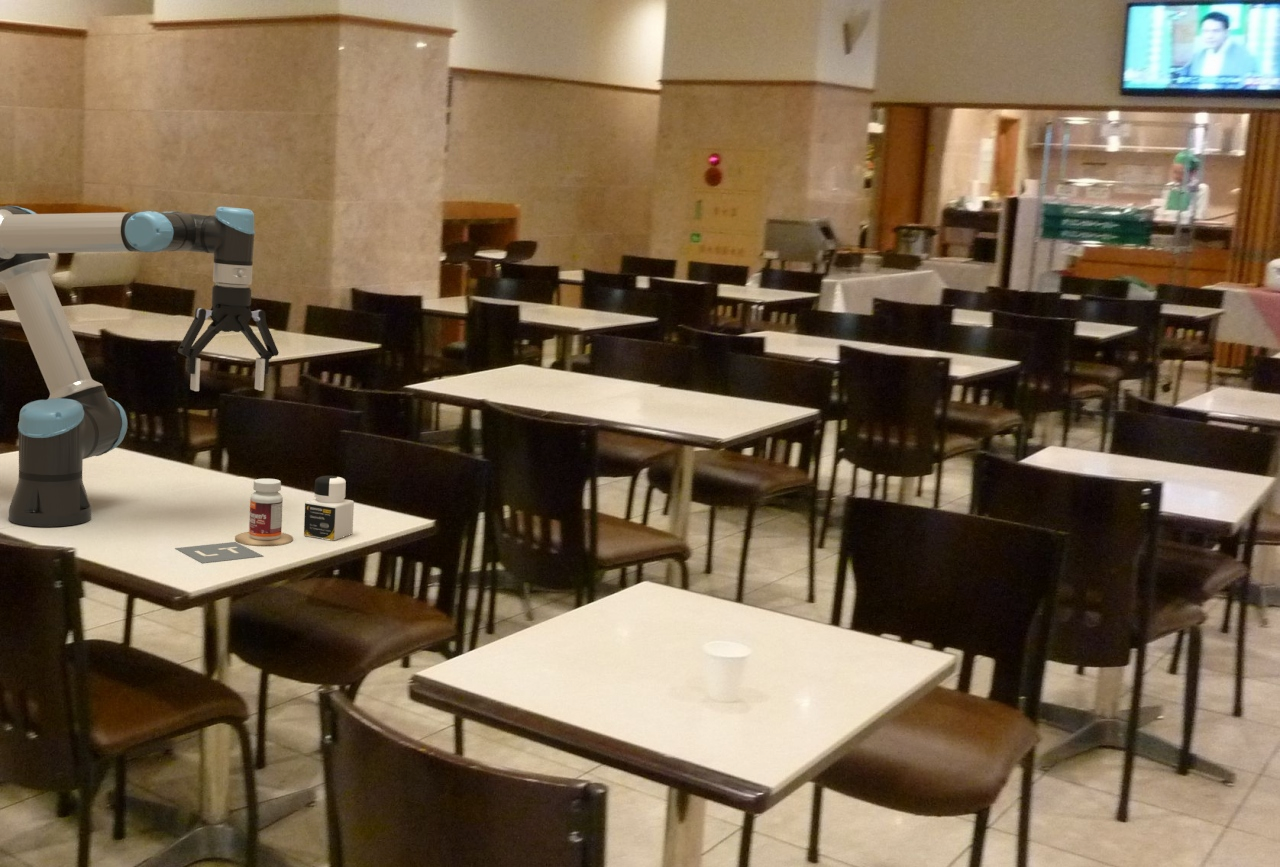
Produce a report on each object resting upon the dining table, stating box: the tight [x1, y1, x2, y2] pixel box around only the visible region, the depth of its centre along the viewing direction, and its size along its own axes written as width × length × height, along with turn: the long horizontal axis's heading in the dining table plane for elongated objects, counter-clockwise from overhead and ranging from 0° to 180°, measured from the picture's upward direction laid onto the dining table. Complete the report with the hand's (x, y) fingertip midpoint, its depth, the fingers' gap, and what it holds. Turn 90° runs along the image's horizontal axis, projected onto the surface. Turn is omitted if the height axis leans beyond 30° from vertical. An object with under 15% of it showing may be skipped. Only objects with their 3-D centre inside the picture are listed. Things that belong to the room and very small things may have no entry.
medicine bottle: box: [303, 475, 355, 541], centre depth 276 cm, size 7×7×12 cm
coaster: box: [234, 531, 294, 547], centre depth 270 cm, size 11×11×1 cm
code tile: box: [174, 541, 264, 564], centre depth 258 cm, size 12×12×1 cm
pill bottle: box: [248, 478, 284, 540], centre depth 270 cm, size 6×6×11 cm
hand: (227, 390), depth 279 cm, fingers open, 13 cm apart
